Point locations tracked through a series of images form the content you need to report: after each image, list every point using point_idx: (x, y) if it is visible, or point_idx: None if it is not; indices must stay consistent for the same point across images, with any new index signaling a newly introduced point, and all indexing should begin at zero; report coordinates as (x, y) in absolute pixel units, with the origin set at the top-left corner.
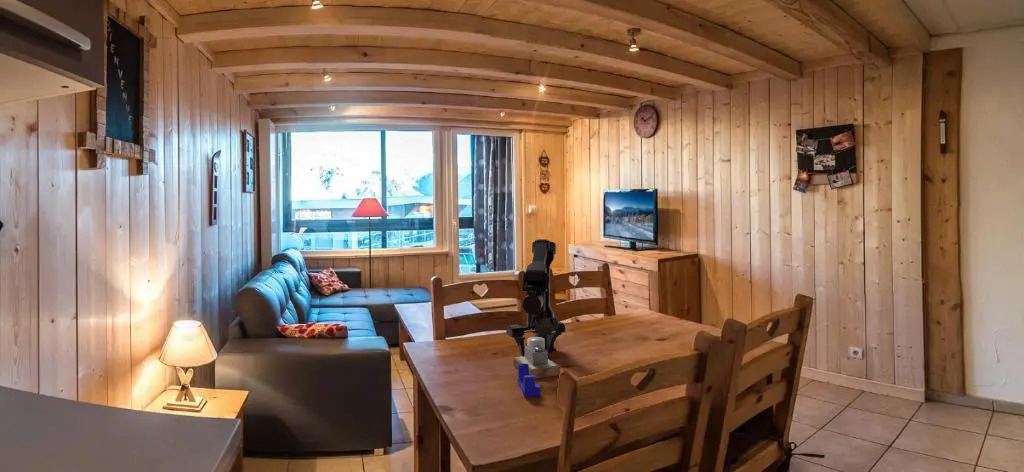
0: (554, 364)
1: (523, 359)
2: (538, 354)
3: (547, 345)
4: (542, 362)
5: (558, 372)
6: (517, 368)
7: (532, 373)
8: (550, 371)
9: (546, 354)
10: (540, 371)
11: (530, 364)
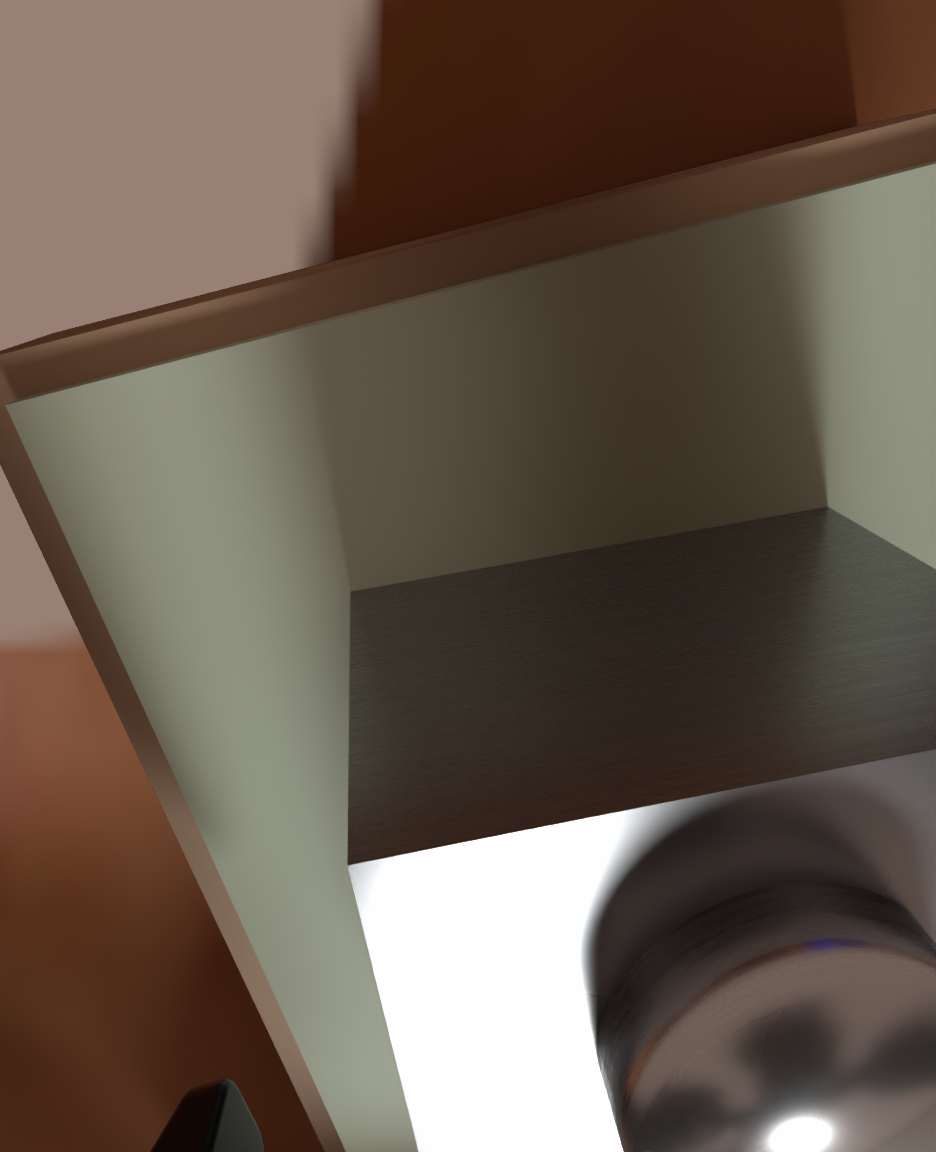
0: (130, 512)
1: None
2: (810, 708)
3: None
4: (536, 580)
5: (67, 331)
6: None
7: (893, 120)
8: (313, 269)
9: (412, 755)
10: (648, 185)
11: None
